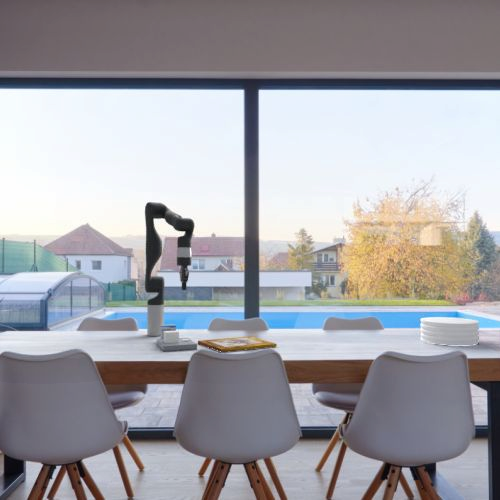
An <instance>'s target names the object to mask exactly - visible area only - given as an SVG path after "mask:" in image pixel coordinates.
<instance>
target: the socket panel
mask: <svg viewBox="0 0 500 500" xmlns="http://www.w3.org/2000/svg"><path fill="white" fill-rule="evenodd" d="M156 345H157V346H158V348H160V350H161V351H163V352H175V351H177V350H179V351H190V350H189V349H194V350H198V343H197V342H195V341H194V340H192V339H191V338H189V337H179V342H178V343H165V342H164V339H160V338H158V339H156Z"/></svg>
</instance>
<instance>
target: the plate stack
mask: <svg viewBox="0 0 500 500" xmlns="http://www.w3.org/2000/svg"><path fill="white" fill-rule="evenodd" d="M420 322H421V323H420V325H419V326H420V331H419V332H421V333H420V341H421V340H422V341H425V342H430V343H435V344H446V345H473V344H478V343H479V344H480V341H479V340H480V336H479V335H480V331H479V330H480V326H479V325H480V321H479V320H476V319H471V318H465V317H463V318H462V317H450V316H449V317H448V316H433V317H432V316H431V317H429V316H428V317H422V318H420Z"/></svg>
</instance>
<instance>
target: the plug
mask: <svg viewBox="0 0 500 500" xmlns="http://www.w3.org/2000/svg"><path fill="white" fill-rule="evenodd" d="M179 338H180V332H179V331H178V330H176V331H164V342H165V343H178V342H179Z"/></svg>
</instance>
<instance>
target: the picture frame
mask: <svg viewBox="0 0 500 500" xmlns="http://www.w3.org/2000/svg"><path fill="white" fill-rule="evenodd" d="M200 344H201V346H202V345H204V346H203V347H205V346H206V347H205V348H207V347H209V348H208V349H210V348H213V349H215V350H218V351H221V352H224V353H229V352H228V351H233V352H237V351H236V350H243V351H246V350H245V349H253V350H256V349H255V348H262V349H266V348H265V347H272V348H276V347H275V346H277V343H275V342H272V341H268V340H265V339H261V338H257V337H255V336H250V335H249V336H238V337H236V336H235V337H225V338H216V339H215V338H213V339H202V340H198V341H197V345H200ZM213 349H212V350H213ZM215 350H214V351H215ZM218 351H217V352H218ZM221 352H220V353H221Z"/></svg>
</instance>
